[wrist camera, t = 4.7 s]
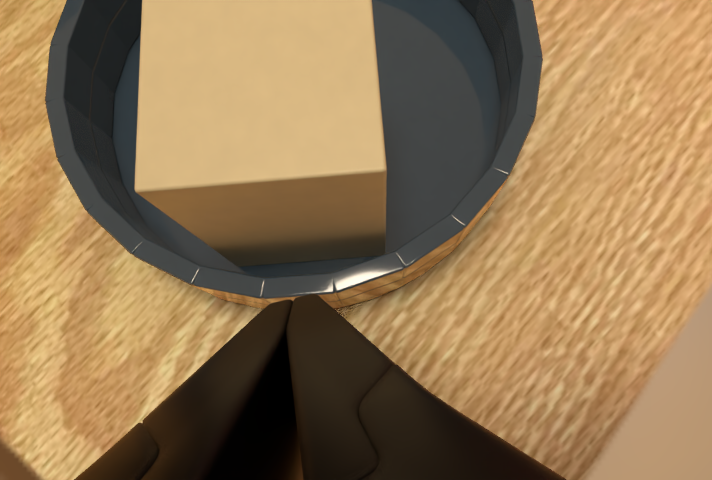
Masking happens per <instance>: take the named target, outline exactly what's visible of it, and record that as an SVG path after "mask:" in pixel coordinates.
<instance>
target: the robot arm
mask: <svg viewBox="0 0 712 480" xmlns="http://www.w3.org/2000/svg"><path fill="white" fill-rule="evenodd" d="M74 480H566V479H565V478H563V477H562V476H560V475H558V474H557V473H555V472H554V471H552V470H551V469H549V468H547V467H546V466H544V465H543V464H541V463H539V462H538V461H536V460H535V459H533V458H532V457H530V456H528V455H527V454H525V453H524V452H522V451H520V450H519V449H517V448H516V447H514V446H512V445H511V444H509V443H508V442H506V441H505V440H503V439H501V438H500V437H498V436H497V435H495V434H493V433H492V432H490V431H489V430H487V429H485V428H484V427H482V426H481V425H479V424H478V423H476V422H474V421H473V420H471V419H470V418H468V417H466V416H465V415H463V414H462V413H460V412H458V411H457V410H455V409H454V408H452V407H451V406H449V405H448V404H446V403H445V402H443V401H442V400H441V399H439V398H438V397H436V396H435V395H433V394H432V393H430V392H429V391H428V390H426V389H425V388H424V387H423V386H421V385H420V384H419V383H418V382H416V381H415V380H414V379H413V378H411V377H410V376H409V375H408V374H407V373H406V372H405V371H404V370H402V369H401V368H400V367H399V366H398V365H395V363H394V362H392V361H391V360H390V359H389V358H388V357H387V356H386V355H385V354H384V353H382V352H381V351H380V350H379V349H378V348H377V347H376V346H375V345H373V344H372V343H371V342H370V341H369V340H368V339H367V338H366V337H364V336H363V335H362V334H361V333H360V332H359V331H358V330H357V329H356V328H354V327H353V326H352V325H351V324H350V323H349V322H348V321H347V320H345V319H344V318H343V317H342V316H341V315H340V314H339V313H338V312H336V311H335V310H334V309H333V308H332V307H331V306H330V305H329V304H327V303H326V302H325V301H324V300H323V299H322V298H321V297H320V296H319V295H317V294H309V295H305V296H300V297H296V298H295V299H294V300H293V301H292V300H290V299H287V300H283V301H278V302H274V303H271V304H269V305H268V306H266V307H265V308H264V309H263V310H262V311H261V312H260V313H259V314H258V315H257V316H256V317H255V318H253V319H252V320H251V321H250V322H249V323H248V324H247V325H246V326H245V327H244V328H243V329H241V330H240V331H239V332H238V333H237V334H236V335H235V336H234V337H233V338H232V339H231V340H229V341H228V342H227V343H226V344H225V345H224V346H223V347H222V348H221V349H220V350H219V351H218V352H216V353H215V354H214V355H213V356H212V357H211V358H210V359H209V360H208V361H207V362H206V363H204V364H203V365H202V366H201V367H200V368H199V369H198V370H197V371H196V372H195V373H194V374H192V375H191V376H190V377H189V378H188V379H187V380H186V381H185V382H184V383H183V384H182V385H181V386H179V387H178V388H177V389H176V390H175V391H174V392H173V393H172V394H171V395H170V396H169V397H167V398H166V399H165V400H164V401H163V402H162V403H161V404H160V405H159V406H158V407H157V408H155V409H154V410H153V411H152V412H151V413H150V414H149V415H148V416H147V417H146V418H145V419H144V420H143V424H142V423H138V424H137V425H136V426H135V427H133V428H132V429H131V430H130V431H129V432H128V433H127V434H126V435H125V436H124V437H123V438H122V439H121V440H119V441H118V442H117V443H116V444H115V445H114V446H113V447H112V448H110V449H109V450H108V451H107V452H106V453H105V454H104V455H102V456H101V457H100V458H99V459H98V460H97V461H96V462H95V463H93V464H92V465H91V466H90V467H89V468H88V469H86V470H85V471H84V472H83V473H82V474H80V475H79V476H78V477H77V478H76V479H74Z"/></svg>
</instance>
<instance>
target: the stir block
mask: <svg viewBox="0 0 712 480" xmlns="http://www.w3.org/2000/svg"><path fill="white" fill-rule="evenodd" d="M386 180H387V167H386V156H385V144H384V133H383V122H382V111H381V99H380V88H379V77H378V66H377V54H376V43H375V32H374V21H373V9H372V0H142V17H141V41H140V66H139V90H138V115H137V139H136V164H135V192H136V193H138V194H139V195H140V196H142V197H143V198H144V199H146V200H147V201H148V202H150V203H151V204H153V205H154V206H155V207H157V208H158V209H159V210H161V211H162V212H163V213H165V214H166V215H168V216H169V217H170V218H172V219H173V220H174V221H176V222H177V223H179V224H180V225H181V226H183V227H184V228H185V229H187V230H188V231H189V232H191V233H192V234H194V235H195V236H196V237H198V238H199V239H200V240H202V241H203V242H205V243H206V244H207V245H209V246H210V247H211V248H213V249H214V250H215V251H217V252H218V253H220V254H221V255H222V256H224V257H225V258H226V259H228V260H229V261H230V262H232V263H233V264H235V265H236V266H238V267H241V266H254V265H267V264H279V263H292V262H305V261H318V260H331V259H344V258H356V257H369V256H380V255H383V254H385V253H386Z"/></svg>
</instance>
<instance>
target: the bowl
mask: <svg viewBox="0 0 712 480" xmlns="http://www.w3.org/2000/svg"><path fill="white" fill-rule="evenodd" d="M372 9H373V21H374V32H375V43H376V54H377V66H378V77H379V88H380V99H381V111H382V122H383V133H384V144H385V156H386V167H387V180H386V253H385V254H383V255H380V256H369V257H356V258H344V259H331V260H318V261H305V262H292V263H279V264H267V265H254V266H241V267H238V266H236V265H235V264H233V263H232V262H230V261H229V260H228V259H226V258H225V257H224V256H222V255H221V254H220V253H218V252H217V251H215V250H214V249H213V248H211V247H210V246H209V245H207V244H206V243H205V242H203V241H202V240H200V239H199V238H198V237H196V236H195V235H194V234H192V233H191V232H189V231H188V230H187V229H185V228H184V227H183V226H181V225H180V224H179V223H177V222H176V221H174V220H173V219H172V218H170V217H169V216H168V215H166V214H165V213H163V212H162V211H161V210H159V209H158V208H157V207H155V206H154V205H153V204H151V203H150V202H148V201H147V200H146V199H144V198H143V197H142V196H140V195H139V194H138V193H136V192H135V164H136V139H137V115H138V90H139V66H140V41H141V17H142V0H67V1H66V4H65V7H64V9H63V12H62V15H61V17H60V20H59V23H58V25H57V28H56V30H55V33H54V36H53V38H52V41H51V46H50V52H49V63H48V74H47V85H46V96H45V101H46V103H45V104H46V108H47V113H48V118H49V123H50V128H51V133H52V137H53V142H54V147H55V152H56V157H57V158H58V162H59V164H60V165H61V167H62V169H63V171H64V172H65V174H66V176H67V178H68V180H69V181H70V183H71V185H72V187H73V189H74V190H75V192H76V194H77V196H78V198H79V199H80V201H81V203H82V205H83V207H84V208H85V210H86V211H87V212H88V214H89V215H90V216H91V217H92V218H93V219H94V220H96V221H97V222H98V223H99V224H100V225H101V226H102V227H103V228H104V229H105V230H106V231H107V232H108V233H109V234H110V235H111V236H112V237H113V238H115V239H116V240H117V241H118V242H119V243H120V244H121V245H122V246H123V247H124V248H125V249H126V250H127V251H128V252H129V253H130V254H132V255H134V256H135V257H136V258H138V259H140V260H142V261H144V262H146V263H148V264H150V265H152V266H154V267H156V268H158V269H160V270H162V271H164V272H166V273H168V274H170V275H172V276H174V277H176V278H178V279H180V280H182V281H184V282H186V283H188V284H190V285H192V286H194V287H196V288H198V289H201V290H203V291H205V292H207V293H209V294H211V295H214V296H216V297H218V298H220V299H223V300H225V301H231V302H236V303H241V304H244V305H248V306H252V307H256V308H263V309H264V308H265V307H266V306H268V305H269V304H271V303H274V302H278V301H283V300H287V299H290V300H292V301H293V300H294V299H295V298H296V297H300V296H305V295H309V294H317V295H319V296H320V297H321V298H322V299H323V300H324V301H325V302H326V303H327V304H329V305H330V306H331V307H332V308H340V307H346V306H349V305H353V304H357V303H360V302H364V301H367V300H371V299H374V298H376V297H379V296H381V295H383V294H386V293H388V292H390V291H393V290H395V289H398V288H400V287H402V286H403V285H405V284H407V283H409V282H410V281H412V280H414V279H415V278H417V277H419V276H420V275H422V274H424V273H425V272H427V271H428V270H429V269H431V268H432V267H433V266H434V265H436V264H437V263H438V262H440V261H441V260H442V259H443V258H445V257H446V256H447V255H449V254H450V253H451V252H452V251H453V250H454V249H455V248H456V247H457V246H458V244H459V243H460V242H461V241H462V240H463V239H464V238H465V237H466V236H467V235H468V234H469V232H470V231H471V230H472V228H473V227H474V226H475V224H476V223H477V222H478V221H479V220H480V218H481V217H482V216H483V215H484V214H485V213H486V211H487V210H488V209H489V207H490V206H491V204H492V202H493V201H494V199H495V198H496V196H497V195H498V193H499V192H500V190H501V188H502V187H503V185H504V184H505V182H506V180H507V179H508V177H509V176H510V174H511V172H512V169H513V167H514V165H515V163H516V160H517V158H518V156H519V154H520V151H521V149H522V147H523V145H524V142H525V140H526V138H527V136H528V133H529V131H530V129H531V127H532V125H533V122H534V120H535V116H536V109H537V101H538V93H539V85H540V77H541V69H542V61H543V58H542V50H541V45H540V39H539V34H538V28H537V23H536V17H535V11H534V6H533V1H532V0H372Z"/></svg>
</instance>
